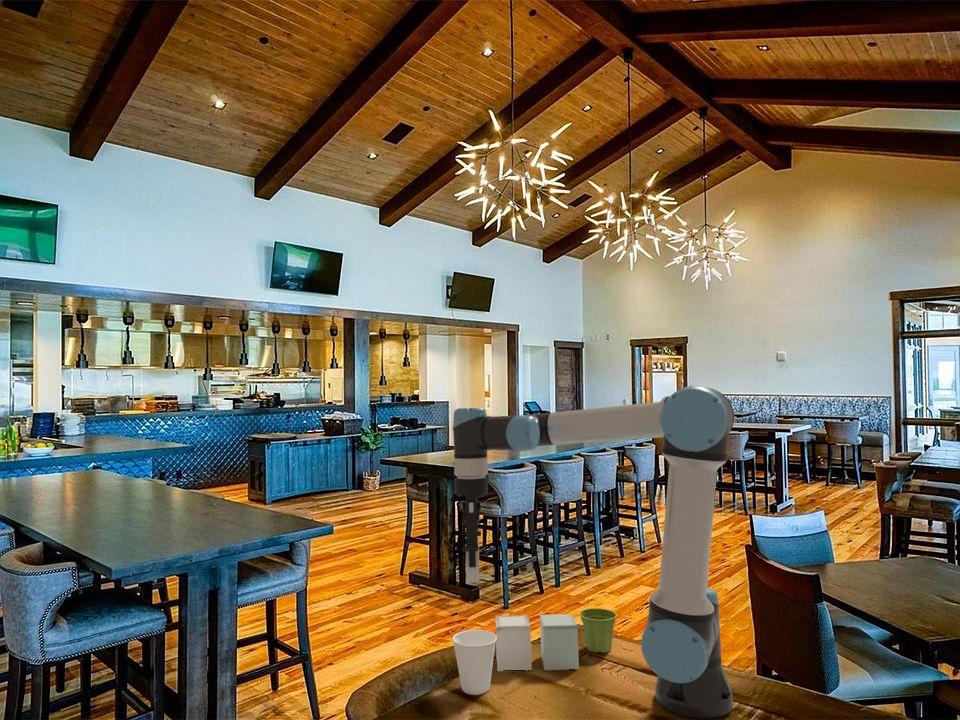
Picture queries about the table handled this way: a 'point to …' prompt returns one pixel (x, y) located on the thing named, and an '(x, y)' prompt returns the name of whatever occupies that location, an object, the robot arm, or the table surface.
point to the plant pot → (598, 628)
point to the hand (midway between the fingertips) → (473, 573)
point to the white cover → (513, 643)
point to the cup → (475, 659)
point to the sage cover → (559, 642)
